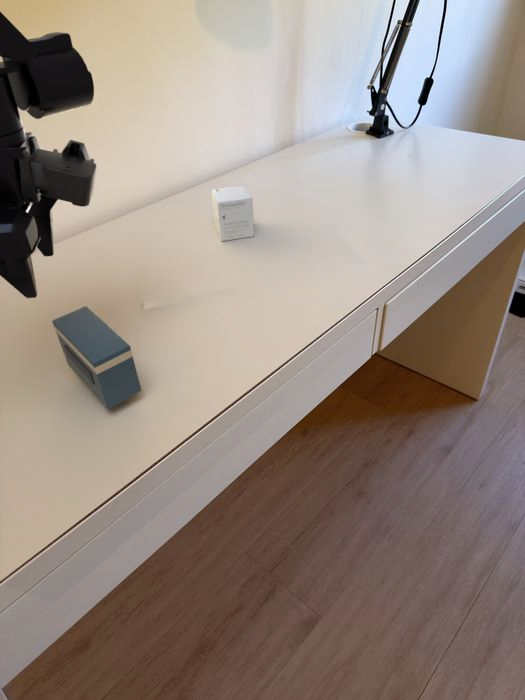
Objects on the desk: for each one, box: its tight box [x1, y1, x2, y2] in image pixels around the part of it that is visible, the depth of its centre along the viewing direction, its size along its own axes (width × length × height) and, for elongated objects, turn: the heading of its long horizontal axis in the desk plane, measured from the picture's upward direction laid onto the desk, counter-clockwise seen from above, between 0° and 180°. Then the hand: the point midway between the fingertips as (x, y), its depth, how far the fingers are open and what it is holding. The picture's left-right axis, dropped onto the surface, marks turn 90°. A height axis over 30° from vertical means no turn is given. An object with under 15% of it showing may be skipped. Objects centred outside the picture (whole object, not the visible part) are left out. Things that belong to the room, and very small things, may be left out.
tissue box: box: [51, 305, 142, 410], centre depth 63 cm, size 11×5×7 cm, turn 41°
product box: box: [211, 185, 255, 242], centre depth 93 cm, size 6×6×7 cm
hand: (41, 275), depth 59 cm, fingers open, 9 cm apart
